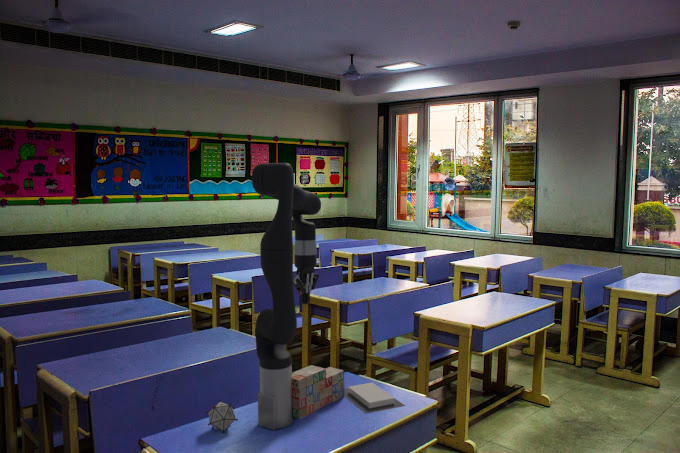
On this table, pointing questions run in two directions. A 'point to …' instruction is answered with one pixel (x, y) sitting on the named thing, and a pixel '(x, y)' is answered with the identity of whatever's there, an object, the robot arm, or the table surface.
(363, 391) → the tile
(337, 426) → the table surface
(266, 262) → the robot arm
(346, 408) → the table surface
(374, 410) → the mat
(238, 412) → the table surface
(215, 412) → the game die
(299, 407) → the stack of blocks
